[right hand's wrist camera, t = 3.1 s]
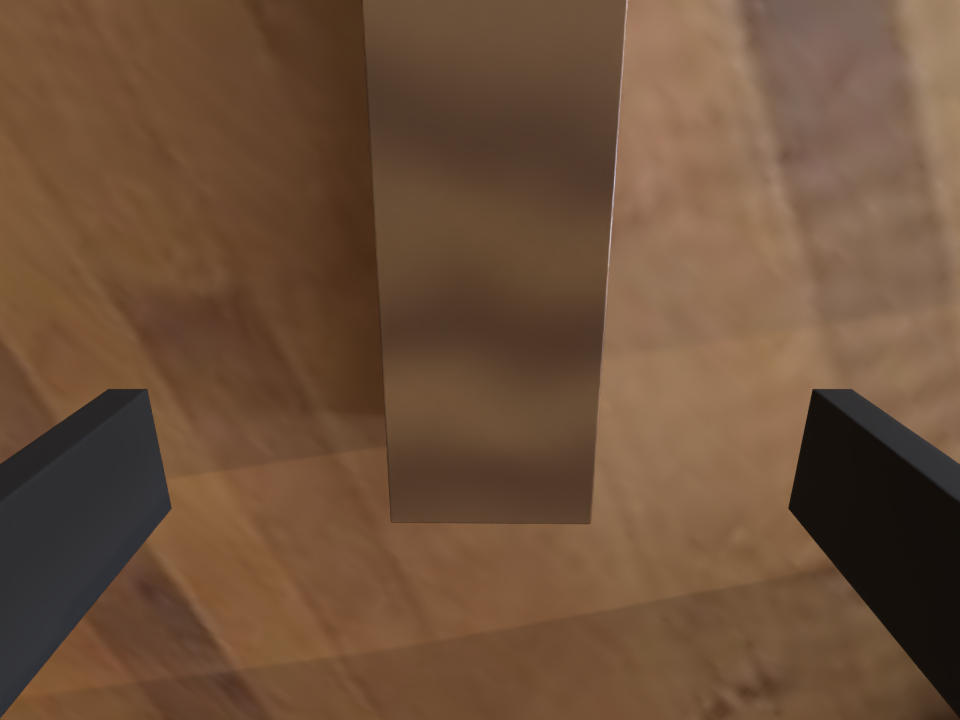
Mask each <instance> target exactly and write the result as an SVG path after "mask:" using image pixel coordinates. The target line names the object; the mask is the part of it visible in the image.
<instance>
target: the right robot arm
mask: <svg viewBox="0 0 960 720" xmlns="http://www.w3.org/2000/svg"><path fill="white" fill-rule="evenodd" d="M171 509H172V508H171V503H170V498H169V493H168V488H167V483H166V478H165V474H164V469H163V464H162V459H161V454H160V449H159V444H158V439H157V434H156V429H155V425H154V420H153V415H152V410H151V405H150V400H149V395H148V390H147V389H108V390H107V391H105V392H104V393H102V394H101V395H99V396H98V397H96V398H95V399H94V400H92V401H91V402H89V403H88V404H86V405H85V406H83V407H82V408H81V409H79V410H78V411H76V412H75V413H73V414H72V415H71V416H69V417H68V418H66V419H65V420H63V421H62V422H60V423H59V424H58V425H56V426H55V427H53V428H52V429H50V430H49V431H47V432H46V433H45V434H43V435H42V436H40V437H39V438H37V439H36V440H35V441H33V442H32V443H30V444H29V445H27V446H26V447H24V448H23V449H22V450H20V451H19V452H17V453H16V454H14V455H13V456H11V457H10V458H9V459H7V460H6V461H4V462H3V463H1V464H0V718H1V717H2V715H3V714H4V713H5V712H6V710H7V709H8V708H9V707H10V706H11V704H12V703H13V702H14V701H15V699H16V698H17V697H18V696H19V695H20V693H21V692H22V691H23V690H24V688H25V687H26V686H27V685H28V684H29V682H30V681H31V680H32V679H33V677H34V676H35V675H36V674H37V673H38V671H39V670H40V669H41V668H42V666H43V665H44V664H45V663H46V662H47V660H48V659H49V658H50V657H51V655H52V654H53V653H54V652H55V651H56V649H57V648H58V647H59V646H60V644H61V643H62V642H63V641H64V640H65V638H66V637H67V636H68V635H69V633H70V632H71V631H72V630H73V629H74V627H75V626H76V625H77V624H78V622H79V621H80V620H81V619H82V618H83V616H84V615H85V614H86V613H87V611H88V610H89V609H90V608H91V607H92V605H93V604H94V603H95V602H96V600H97V599H98V598H99V597H100V596H101V594H102V593H103V592H104V591H105V589H106V588H107V587H108V586H109V584H110V583H111V582H112V581H113V580H114V578H115V577H116V576H117V575H118V573H119V572H120V571H121V570H122V569H123V567H124V566H125V565H126V564H127V562H128V561H129V560H130V559H131V558H132V556H133V555H134V554H135V553H136V551H137V550H138V549H139V548H140V547H141V545H142V544H143V543H144V542H145V540H146V539H147V538H148V537H149V536H150V534H151V533H152V532H153V531H154V529H155V528H156V527H157V526H158V525H159V523H160V522H161V521H162V520H163V518H164V517H165V516H166V515H167V514H168V512H169V511H170V510H171ZM788 509H789V510H790V511H791V512H792V514H793V515H794V516H795V517H796V518H797V520H798V521H799V522H800V523H801V525H802V526H803V527H804V528H805V529H806V531H807V532H808V533H809V534H810V536H811V537H812V538H813V539H814V540H815V542H816V543H817V544H818V545H819V547H820V548H821V549H822V550H823V551H824V553H825V554H826V555H827V556H828V558H829V559H830V560H831V561H832V562H833V564H834V565H835V566H836V567H837V569H838V570H839V571H840V572H841V573H842V575H843V576H844V577H845V578H846V580H847V581H848V582H849V583H850V584H851V586H852V587H853V588H854V589H855V591H856V592H857V593H858V594H859V596H860V597H861V598H862V599H863V600H864V602H865V603H866V604H867V605H868V607H869V608H870V609H871V610H872V611H873V613H874V614H875V615H876V616H877V618H878V619H879V620H880V621H881V622H882V624H883V625H884V626H885V627H886V629H887V630H888V631H889V632H890V633H891V635H892V636H893V637H894V638H895V640H896V641H897V642H898V643H899V644H900V646H901V647H902V648H903V649H904V651H905V652H906V653H907V654H908V655H909V657H910V658H911V659H912V660H913V662H914V663H915V664H916V665H917V666H918V668H919V669H920V670H921V671H922V673H923V674H924V675H925V676H926V677H927V679H928V680H929V681H930V682H931V684H932V685H933V686H934V687H935V688H936V690H937V691H938V692H939V693H940V695H941V696H942V697H943V698H944V699H945V701H946V702H947V703H948V704H949V706H950V707H951V708H952V709H953V711H954V712H955V713H956V714H957V715H958V717H959V718H960V464H959V463H957V462H956V461H954V460H953V459H951V458H950V457H949V456H947V455H946V454H944V453H943V452H941V451H940V450H938V449H937V448H936V447H934V446H933V445H931V444H930V443H928V442H927V441H925V440H924V439H923V438H921V437H920V436H918V435H917V434H915V433H914V432H913V431H911V430H910V429H908V428H907V427H905V426H904V425H902V424H901V423H900V422H898V421H897V420H895V419H894V418H892V417H891V416H889V415H888V414H887V413H885V412H884V411H882V410H881V409H879V408H878V407H877V406H875V405H874V404H872V403H871V402H869V401H868V400H866V399H865V398H864V397H862V396H861V395H859V394H858V393H856V392H855V391H853V390H852V389H813V390H812V395H811V400H810V405H809V410H808V415H807V420H806V425H805V429H804V434H803V439H802V444H801V449H800V454H799V459H798V464H797V469H796V474H795V478H794V483H793V488H792V493H791V498H790V503H789V508H788Z"/></svg>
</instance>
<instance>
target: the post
mask: <svg viewBox="0 0 960 720" xmlns="http://www.w3.org/2000/svg"><path fill="white" fill-rule="evenodd" d="M627 6H628V0H362V18H363V36H364V53H365V71H366V89H367V107H368V124H369V142H370V160H371V178H372V195H373V213H374V231H375V248H376V266H377V284H378V302H379V319H380V337H381V355H382V373H383V390H384V408H385V426H386V444H387V461H388V479H389V497H390V515H391V522H392V523H508V524H590V523H591V516H592V502H593V487H594V473H595V459H596V445H597V431H598V417H599V402H600V388H601V374H602V360H603V346H604V332H605V317H606V303H607V289H608V275H609V261H610V247H611V232H612V218H613V204H614V190H615V176H616V162H617V147H618V133H619V119H620V105H621V91H622V77H623V63H624V48H625V34H626V20H627Z"/></svg>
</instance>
